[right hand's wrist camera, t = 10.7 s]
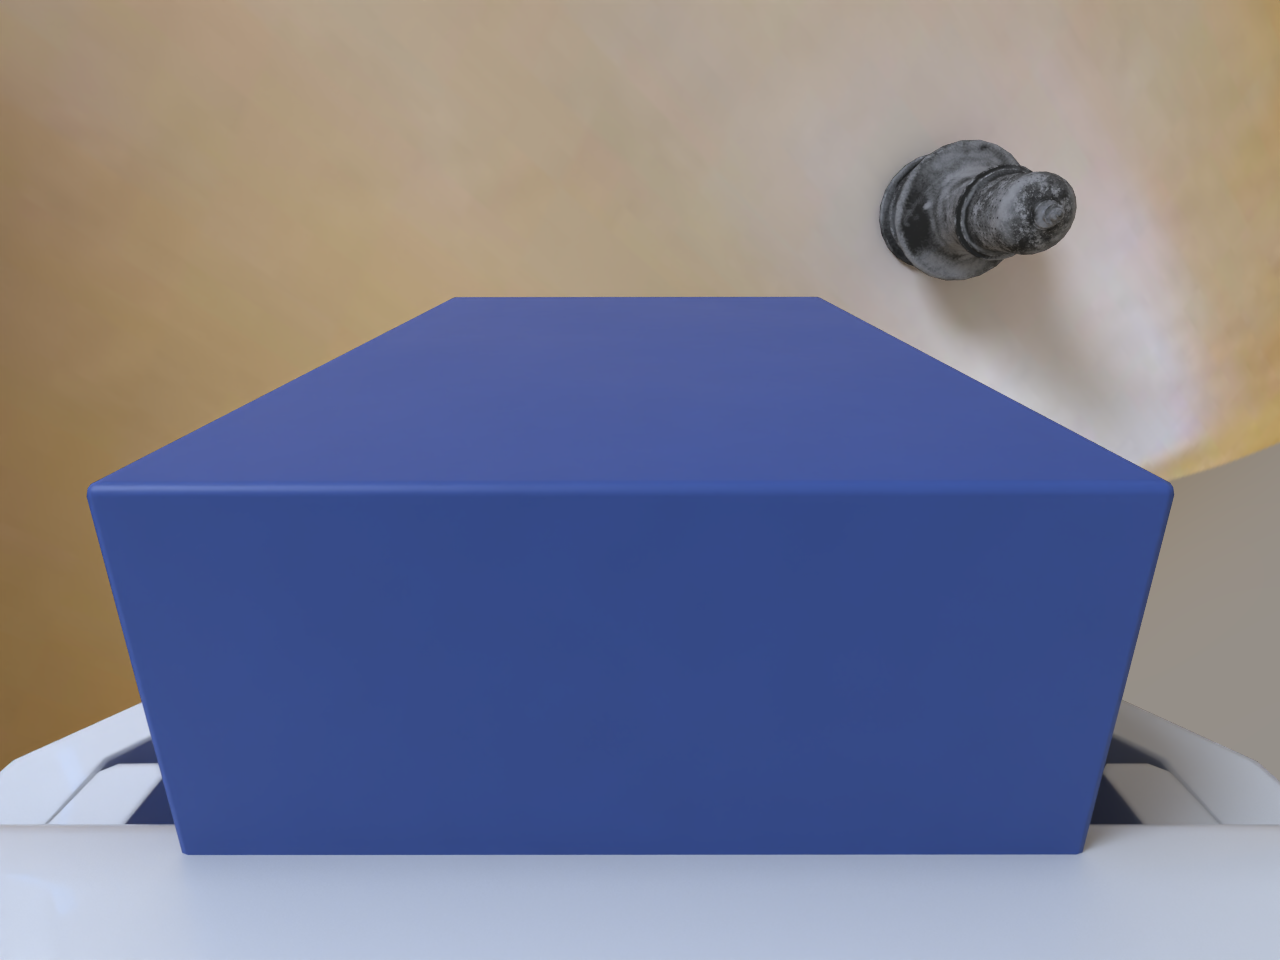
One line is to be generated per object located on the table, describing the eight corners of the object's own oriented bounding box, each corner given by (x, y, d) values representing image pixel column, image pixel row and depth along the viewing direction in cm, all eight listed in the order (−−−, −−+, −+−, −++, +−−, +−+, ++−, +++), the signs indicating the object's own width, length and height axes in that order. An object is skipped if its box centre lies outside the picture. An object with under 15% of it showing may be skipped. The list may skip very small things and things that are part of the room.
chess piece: (1021, 197, 37) (1187, 194, 25) (936, 298, 38) (1056, 336, 27) (931, 118, 36) (1064, 78, 24) (848, 225, 37) (935, 234, 26)
